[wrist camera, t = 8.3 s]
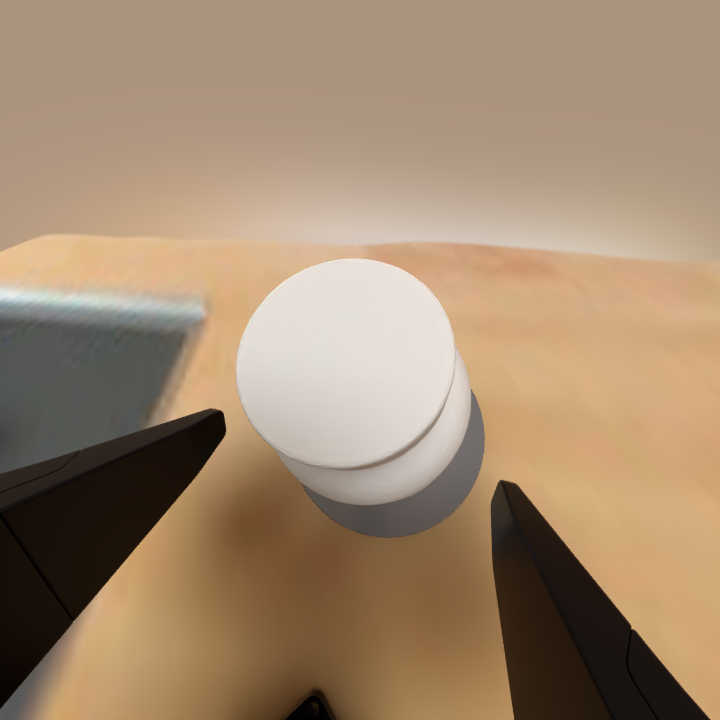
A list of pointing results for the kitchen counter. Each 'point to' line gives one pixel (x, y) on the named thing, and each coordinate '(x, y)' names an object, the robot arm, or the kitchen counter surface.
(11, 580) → the robot arm
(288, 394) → the supplement bottle
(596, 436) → the kitchen counter surface
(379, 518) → the gray plate
